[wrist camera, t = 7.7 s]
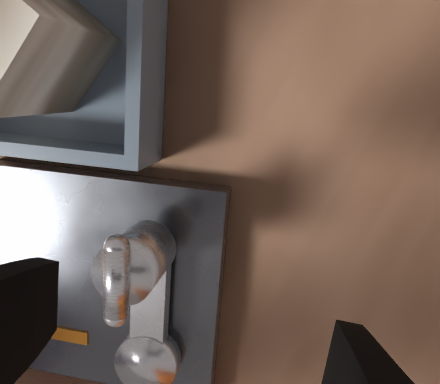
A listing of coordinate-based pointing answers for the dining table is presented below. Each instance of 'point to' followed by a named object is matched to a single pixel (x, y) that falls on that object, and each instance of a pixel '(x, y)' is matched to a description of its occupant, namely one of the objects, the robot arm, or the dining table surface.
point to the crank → (139, 300)
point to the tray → (107, 99)
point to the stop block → (49, 55)
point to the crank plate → (94, 242)
